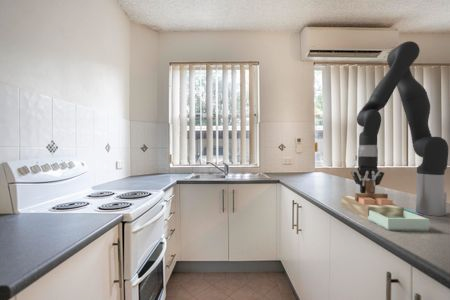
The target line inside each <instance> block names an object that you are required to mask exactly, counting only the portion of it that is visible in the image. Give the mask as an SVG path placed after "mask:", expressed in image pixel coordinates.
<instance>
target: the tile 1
mask: <svg viewBox="0 0 450 300" xmlns="http://www.w3.org/2000/svg"><path fill="white" fill-rule="evenodd" d="M358 202H360V203H362V204H371V205H375V199H372V198H369V197H358Z"/></svg>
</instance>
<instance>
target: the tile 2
mask: <svg viewBox="0 0 450 300" xmlns="http://www.w3.org/2000/svg"><path fill="white" fill-rule="evenodd" d="M375 202H376V203H378V204H381V205H393V204H394V203H393V199H390V198H389V197H388V198H375Z"/></svg>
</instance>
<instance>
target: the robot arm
mask: <svg viewBox="0 0 450 300" xmlns="http://www.w3.org/2000/svg"><path fill="white" fill-rule="evenodd" d="M420 51H421V49H420V47H419V45H418V43H416V42H414V41H411V40H410V41H409V40H407V41H405V42H403V43H400V44H399V45H398V46H396V47H395V48H393V49H392V50H390V51H389V53H388V54H387V57H386V61H387V66H388V68H389V69H388V70H387V73H386V74H385V75H384V76H383V77H382V78H381V80H380V81H379V82H378V84H377V85H376V86H375V88H374V90H373V92H372V94H371V96H370V97H369V99H368V100H367V102H366V103H365V104H364V106H363V107H362V108H361V109H360V110H359V112H358V114H357V116H356V123H357V124H358V126H360V127H363V130H362V132H360V133H359V135H358V136H359V138H358V151H357V163H358V164H357V166H358V168H357V170H355V171H351V172H350V174H351V176H352V178H353V180H354V182H355V184H356V185H359V193H365V183H366V181H367V180H368V181H372V182H374V193H375V194H376V191H375V190H376V186H379V185H380V184H381V182H382V180H383V177H384V176H385V172H384V171H383V172H382V171H381V170H379V169H378V166H379V162H378V161H379V151H378V150H379V147H378V135H379V131H380V129H381V125H382V115H381V113H380V110H381V109H383V108H385V107H386V106H387V104H388V102H389V100H390V98H391V97H392V95H393V93H394V91H395V89H396V88H397V90H398V94H399V97H400V101H401V104H402V108H403V111H404V113H405V116H406V120H407V123H408V127H409V131H410V137H411V143H412V148H413V151H414V153H415V154H416V155H417V156H419V157H420V158H422V161H421V164H420V165H418V166H417V167H416V194H415V196H416V197H415V199H416V200H415V202H416V203H415V205H416V206H415V212H416V213H419V214H422V215H428V216H433V217H434V216H435V217H442V216H446V215H447V195H448V194H447V192H445V174H446V172H445V171H446V169H447V167H448V162H449V145H448V142H447V140H446V139H445V138H443V137H440V136H432V133H431V130H430V127H429V119H430V113H431V103H430V102H431V101H430V99H429V95H428V93H427V90H426V88H424V86H423V85H422V84H421V83H420V82H418V80H416V79H415V77H414V76H413V74H412V71H411V68H410V67H411V66H412V65H413V64H414V62H415V61H416V60H417V59H418V57H419V55H420ZM359 175H360V176H359Z"/></svg>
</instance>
